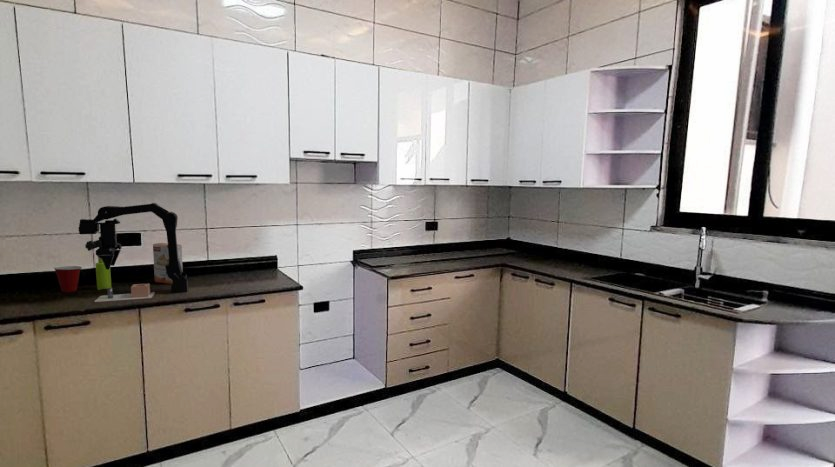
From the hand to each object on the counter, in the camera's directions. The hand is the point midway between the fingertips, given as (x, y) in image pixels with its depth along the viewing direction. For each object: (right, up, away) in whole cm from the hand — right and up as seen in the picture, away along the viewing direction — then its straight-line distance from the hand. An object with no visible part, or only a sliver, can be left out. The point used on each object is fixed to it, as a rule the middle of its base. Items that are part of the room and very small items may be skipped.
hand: (110, 267), depth 202 cm
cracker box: (+8, -11, +34) cm, 37 cm away
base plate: (+6, -15, +1) cm, 16 cm away
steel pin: (+1, -15, -1) cm, 15 cm away
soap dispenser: (-16, -12, +19) cm, 28 cm away
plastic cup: (-29, -13, +13) cm, 34 cm away
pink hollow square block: (+12, -14, +4) cm, 18 cm away
